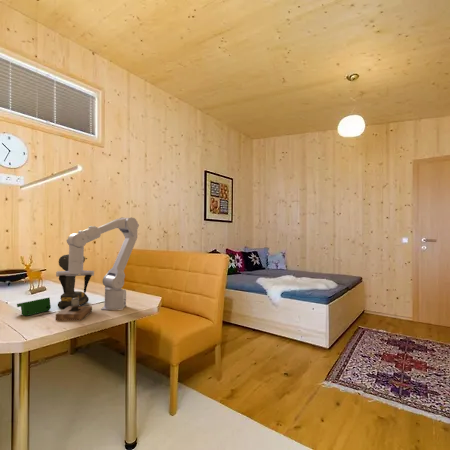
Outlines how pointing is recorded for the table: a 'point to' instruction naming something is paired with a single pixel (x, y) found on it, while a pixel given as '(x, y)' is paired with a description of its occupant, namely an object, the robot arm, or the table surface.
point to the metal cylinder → (75, 304)
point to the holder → (74, 313)
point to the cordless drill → (70, 286)
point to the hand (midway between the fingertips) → (75, 292)
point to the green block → (35, 306)
